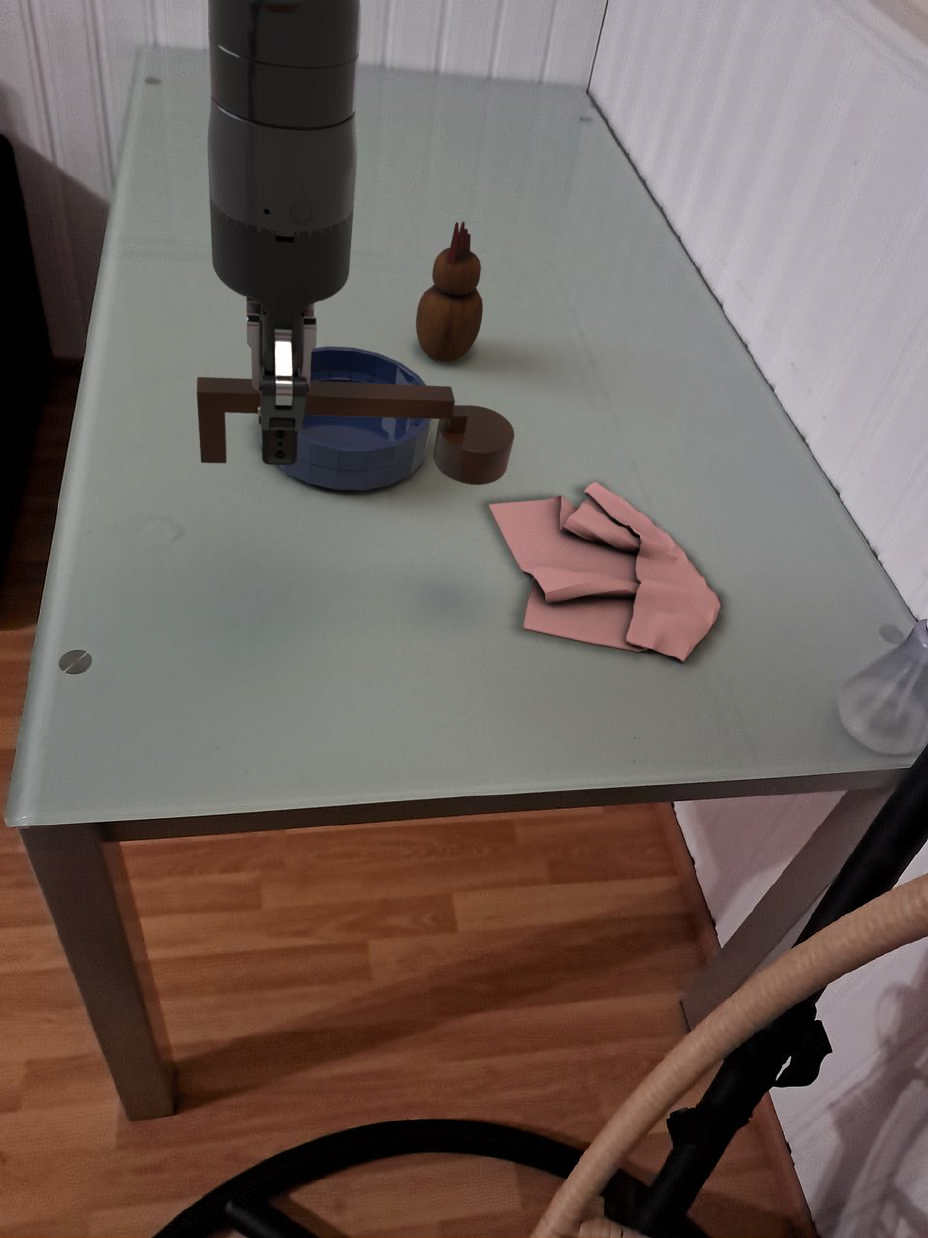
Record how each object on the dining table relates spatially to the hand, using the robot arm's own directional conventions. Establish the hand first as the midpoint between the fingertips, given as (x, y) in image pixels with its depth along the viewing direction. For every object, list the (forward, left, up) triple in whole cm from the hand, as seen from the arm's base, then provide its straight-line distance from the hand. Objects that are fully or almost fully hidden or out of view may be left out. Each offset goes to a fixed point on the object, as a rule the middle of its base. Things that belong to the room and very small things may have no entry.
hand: (278, 450), depth 63 cm
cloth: (+28, -4, -15) cm, 32 cm away
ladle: (+5, -2, -1) cm, 5 cm away
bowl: (+13, +18, -15) cm, 27 cm away
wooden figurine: (+29, +29, -15) cm, 44 cm away
